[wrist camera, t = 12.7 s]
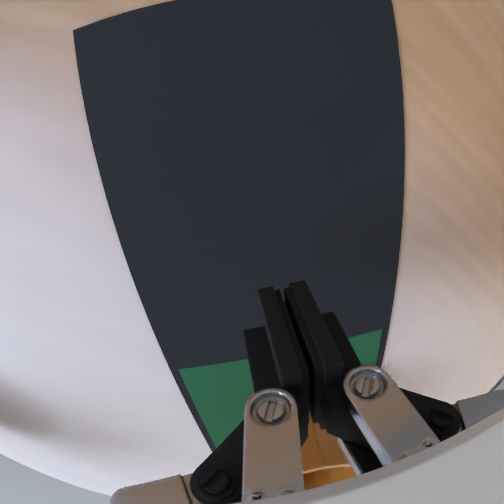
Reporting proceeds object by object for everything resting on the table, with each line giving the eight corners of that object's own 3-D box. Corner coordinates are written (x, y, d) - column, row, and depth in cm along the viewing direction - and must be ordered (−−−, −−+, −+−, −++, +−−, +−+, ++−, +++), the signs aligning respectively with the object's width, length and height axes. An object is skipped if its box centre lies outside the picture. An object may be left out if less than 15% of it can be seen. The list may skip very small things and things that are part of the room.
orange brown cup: (235, 386, 20) (248, 481, 14) (337, 365, 20) (372, 452, 14) (250, 433, 23) (262, 509, 17) (332, 416, 23) (357, 488, 17)
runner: (74, 31, 10) (73, 30, 9) (389, -4, 10) (390, -5, 10) (220, 464, 26) (220, 465, 26) (362, 435, 26) (362, 435, 26)
